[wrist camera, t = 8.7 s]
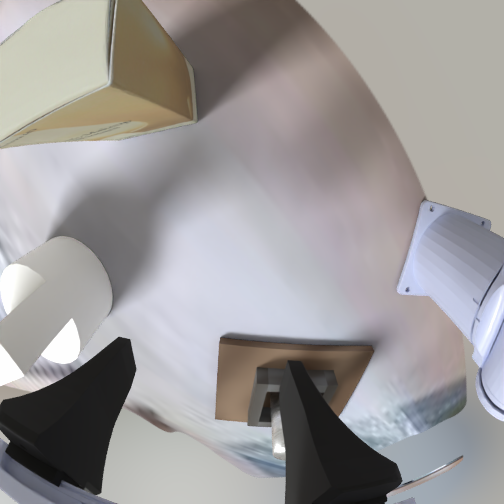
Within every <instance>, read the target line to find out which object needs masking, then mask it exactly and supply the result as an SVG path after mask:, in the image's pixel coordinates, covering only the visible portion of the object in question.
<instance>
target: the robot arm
mask: <svg viewBox="0 0 504 504" xmlns="http://www.w3.org/2000/svg"><path fill="white" fill-rule="evenodd" d="M431 206H432V209H431V210H430V207H431ZM481 223H482V224H481ZM490 228H491V221H490V220H488V219H485V218H482V217H479V216H476V215H473V214H470V213H467V212H464V211H461V210H458V209H455V208H451V207H448V206H445V205H442V204H438V203H435V202H431V201H428V200H424V201H423V202H422V203H421V206H420V210H419V214H418V219H417V223H416V227H415V230H414V234H413V238H412V241H411V245H410V248H409V252H408V255H407V258H406V262H405V265H404V268H403V271H402V274H401V277H400V280H399V283H398V286H397V291H398V293H399V294H404V295H422V296H430V297H431V298H432V299H433V300H434V301H435V303H436V304H437V305H438V306H439V307H440V308H441V309H442V310H443V311H444V312H445V313H446V314H447V316H448V317H449V318H450V319H451V320H452V321H453V322H454V323H455V325H456V326H457V327H458V328H459V329H460V330H461V331H462V333H463V334H464V335H465V336H466V337H467V338H468V340H469V341H470V342H471V343H472V344H473V345H474V353H473V355H472V358H473V359H474V361H475V362H476V363H477V365H478V366H479V370H478V372H477V376H476V391H477V394H478V397H479V399H480V401H481V403H482V404H483V406H484V408H485V409H486V410H487V411H488V412H489V413H490V414H491V415H493V416H494V417H496V418H497V419H499V420H501V421H504V238H503V237H501V236H499V235H497V234H495V233H493V232H491V231H490ZM407 287H408V289H407V290H406V288H407ZM135 372H136V365H135V361H134V356H133V351H132V346H131V341H130V339H127V338H122V337H118V338H117V339H115V340H114V341H113V342H112V343H110V344H109V345H108V346H107V347H105V348H104V349H103V350H102V351H101V352H99V353H98V354H97V355H96V356H94V357H93V358H92V359H90V360H89V361H88V362H87V363H85V364H84V365H82V366H81V367H80V368H78V369H77V370H75V371H74V372H72V373H71V374H69V375H68V376H66V377H64V378H63V379H61V380H59V381H57V382H55V383H53V384H51V385H49V386H47V387H45V388H42V389H40V390H38V391H35V392H32V393H29V394H26V395H23V396H20V397H15V398H11V399H6V400H3V401H2V403H1V404H0V430H1V431H2V432H3V434H4V435H5V436H6V437H7V438H8V439H9V440H10V443H9V445H8V444H7V443H6V442H4V441H3V440H2V439H1V438H0V489H1V490H2V491H3V492H5V493H6V494H7V495H8V496H9V497H11V498H12V499H13V500H14V501H16V502H17V503H18V504H117V503H114V502H111V501H109V500H106V499H103V498H101V497H98V496H96V495H98V494H100V493H101V489H102V480H103V479H102V478H103V471H104V466H105V460H106V455H107V451H108V446H109V442H110V438H111V435H112V431H113V428H114V425H115V422H116V420H117V418H118V415H119V413H120V411H121V409H122V406H123V404H124V402H125V400H126V397H127V395H128V393H129V391H130V388H131V386H132V382H133V379H134V376H135ZM279 408H280V415H281V423H282V430H283V437H284V444H285V454H286V491H285V504H385V503H384V502H386V501H387V496H386V494H388V493H389V492H391V491H392V490H394V489H395V488H397V487H398V486H399V485H400V484H401V482H402V478H401V474H400V471H399V469H398V466H397V464H396V463H394V462H393V461H391V460H389V459H388V458H386V457H384V456H382V455H381V454H379V453H378V452H376V451H375V450H374V449H372V448H371V447H369V446H368V445H367V444H366V443H364V442H363V441H362V440H361V439H360V438H359V437H357V436H356V435H355V434H354V433H353V432H352V431H351V430H350V429H349V428H348V427H347V426H346V425H345V424H344V423H343V422H342V421H341V420H340V419H339V417H338V416H337V415H336V414H335V413H334V411H333V410H332V409H331V407H330V406H329V405H328V403H327V402H326V401H325V399H324V398H323V396H322V395H321V393H320V392H319V390H318V389H317V387H316V386H315V384H314V382H313V381H312V379H311V377H310V376H309V374H308V372H307V370H306V368H305V367H304V365H303V363H302V362H301V361H293V360H287V364H286V367H285V371H284V374H283V378H282V381H281V384H280V388H279ZM79 488H80V489H79ZM88 492H89V493H88ZM395 504H416V503H415V499H414V498H410V499H407V500H404V501H401V502H398V503H395Z"/></svg>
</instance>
